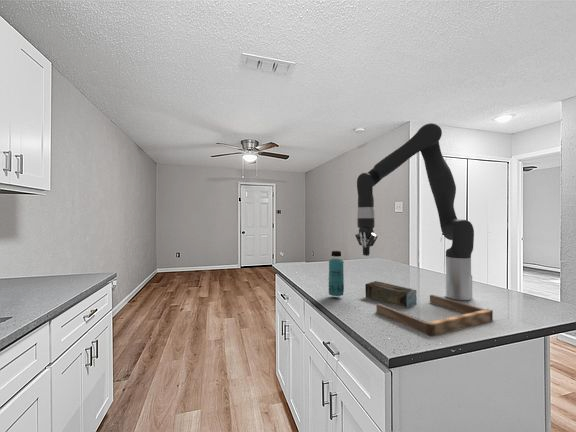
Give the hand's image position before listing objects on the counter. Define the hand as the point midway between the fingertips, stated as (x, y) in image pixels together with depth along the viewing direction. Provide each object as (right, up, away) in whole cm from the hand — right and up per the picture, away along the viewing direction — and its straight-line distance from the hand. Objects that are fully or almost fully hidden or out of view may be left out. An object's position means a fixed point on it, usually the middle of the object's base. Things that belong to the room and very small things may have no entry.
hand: (366, 255), depth 128 cm
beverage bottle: (-15, -17, -8) cm, 24 cm away
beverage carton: (+6, -17, -13) cm, 22 cm away
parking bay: (+14, -17, -31) cm, 38 cm away
